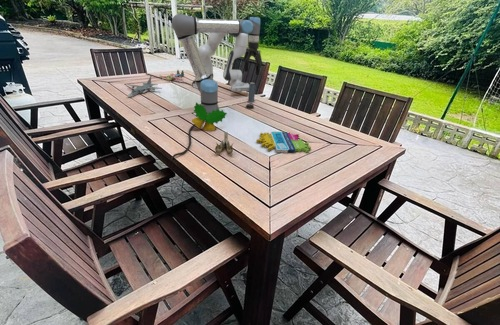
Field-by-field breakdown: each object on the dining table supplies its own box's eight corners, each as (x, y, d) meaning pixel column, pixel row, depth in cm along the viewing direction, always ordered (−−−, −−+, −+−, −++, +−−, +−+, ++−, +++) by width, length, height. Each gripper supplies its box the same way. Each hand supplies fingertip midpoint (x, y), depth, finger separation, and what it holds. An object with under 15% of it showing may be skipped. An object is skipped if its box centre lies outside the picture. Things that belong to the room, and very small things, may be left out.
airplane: (121, 87, 235) (119, 76, 230) (157, 85, 248) (156, 74, 243) (125, 100, 206) (123, 87, 201) (166, 97, 219) (165, 85, 214)
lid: (254, 106, 210) (254, 104, 209) (252, 109, 205) (252, 106, 204) (247, 106, 211) (247, 103, 210) (245, 108, 206) (245, 105, 205)
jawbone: (234, 135, 144) (233, 125, 135) (233, 160, 138) (232, 151, 129) (217, 135, 144) (216, 125, 135) (216, 160, 138) (214, 150, 129)
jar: (248, 102, 221) (249, 83, 213) (248, 100, 225) (249, 82, 218) (254, 102, 221) (255, 83, 213) (254, 100, 226) (255, 82, 218)
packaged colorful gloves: (313, 150, 142) (258, 149, 139) (312, 153, 143) (258, 152, 140) (301, 132, 164) (254, 130, 161) (301, 134, 165) (254, 133, 162)
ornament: (218, 133, 171) (224, 110, 169) (221, 134, 163) (227, 111, 161) (186, 125, 162) (192, 101, 160) (189, 126, 155) (195, 101, 153)
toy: (192, 71, 287) (179, 75, 261) (192, 77, 291) (180, 82, 265) (169, 68, 292) (154, 72, 266) (169, 75, 296) (155, 79, 270)
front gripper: (269, 44, 178) (266, 76, 189) (247, 40, 195) (245, 69, 206) (260, 44, 174) (258, 76, 185) (239, 40, 191) (238, 70, 201)
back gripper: (228, 83, 234) (234, 87, 223) (249, 82, 242) (256, 86, 232) (228, 90, 237) (234, 94, 226) (248, 89, 246) (255, 93, 235)
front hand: (251, 73), depth 195 cm, fingers open, 13 cm apart
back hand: (245, 90), depth 229 cm, fingers open, 8 cm apart
